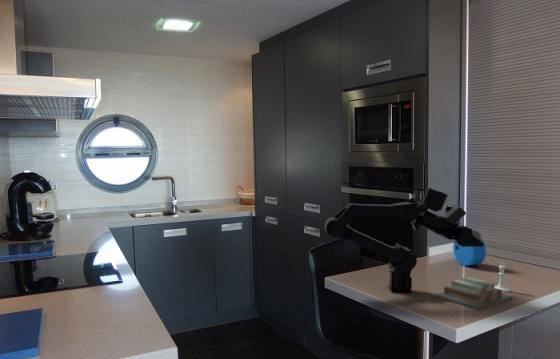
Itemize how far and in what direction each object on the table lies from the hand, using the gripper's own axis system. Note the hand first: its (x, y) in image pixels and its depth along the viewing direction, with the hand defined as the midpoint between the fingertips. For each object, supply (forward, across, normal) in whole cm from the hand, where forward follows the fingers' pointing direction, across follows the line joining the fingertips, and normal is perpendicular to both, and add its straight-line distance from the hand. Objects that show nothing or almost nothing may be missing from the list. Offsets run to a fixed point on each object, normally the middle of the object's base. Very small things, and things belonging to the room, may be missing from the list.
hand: (477, 242), depth 145 cm
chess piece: (+14, 0, +11) cm, 18 cm away
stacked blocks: (+2, -8, +17) cm, 19 cm away
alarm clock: (+17, +34, +10) cm, 39 cm away
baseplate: (+2, -8, +17) cm, 19 cm away
